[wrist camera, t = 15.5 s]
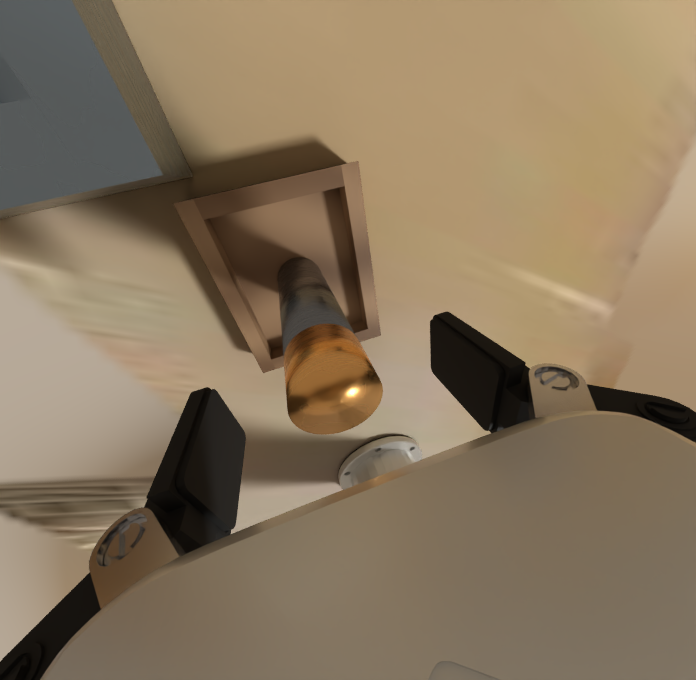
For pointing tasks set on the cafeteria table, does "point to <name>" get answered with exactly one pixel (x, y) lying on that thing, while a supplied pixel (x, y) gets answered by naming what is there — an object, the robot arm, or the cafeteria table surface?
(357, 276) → the tray
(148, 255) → the cafeteria table surface
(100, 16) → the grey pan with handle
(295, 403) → the orange grey cylinder
